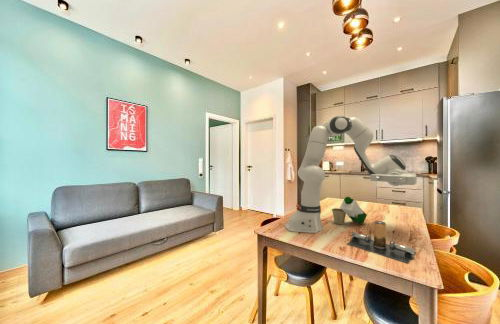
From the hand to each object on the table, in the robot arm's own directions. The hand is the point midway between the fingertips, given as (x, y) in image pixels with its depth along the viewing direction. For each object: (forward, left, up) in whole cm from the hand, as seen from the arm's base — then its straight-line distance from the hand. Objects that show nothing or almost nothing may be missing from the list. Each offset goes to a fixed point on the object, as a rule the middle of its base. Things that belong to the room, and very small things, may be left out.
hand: (387, 179), depth 100 cm
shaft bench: (-9, -8, -32) cm, 34 cm away
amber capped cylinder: (-9, -8, -31) cm, 34 cm away
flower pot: (-11, +30, -32) cm, 46 cm away
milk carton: (+3, +31, -29) cm, 43 cm away
